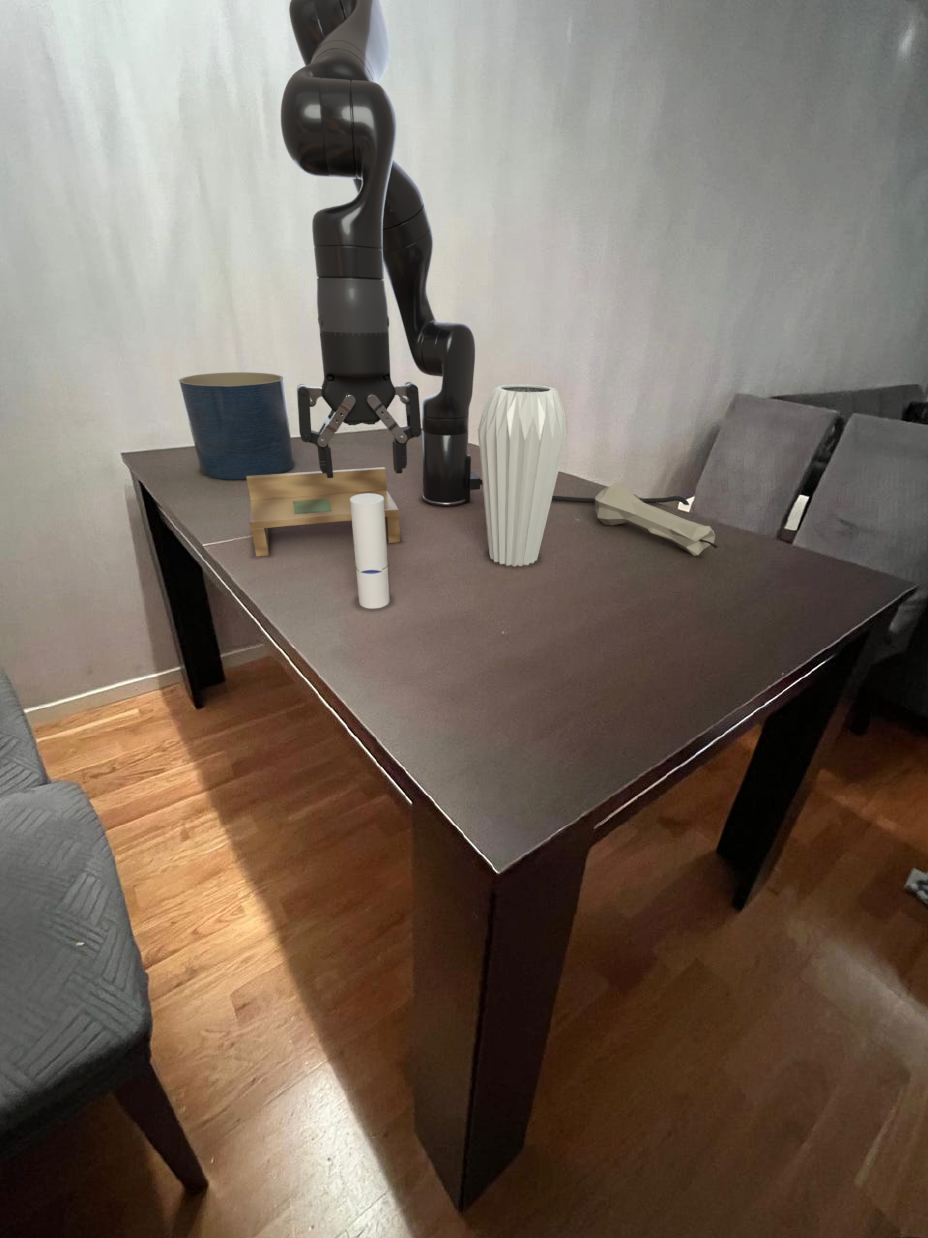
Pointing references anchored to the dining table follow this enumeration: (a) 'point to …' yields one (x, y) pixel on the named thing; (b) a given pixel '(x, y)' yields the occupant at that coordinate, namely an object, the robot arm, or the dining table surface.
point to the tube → (370, 549)
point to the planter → (238, 423)
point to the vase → (520, 467)
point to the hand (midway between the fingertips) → (364, 474)
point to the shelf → (313, 500)
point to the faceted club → (651, 519)
